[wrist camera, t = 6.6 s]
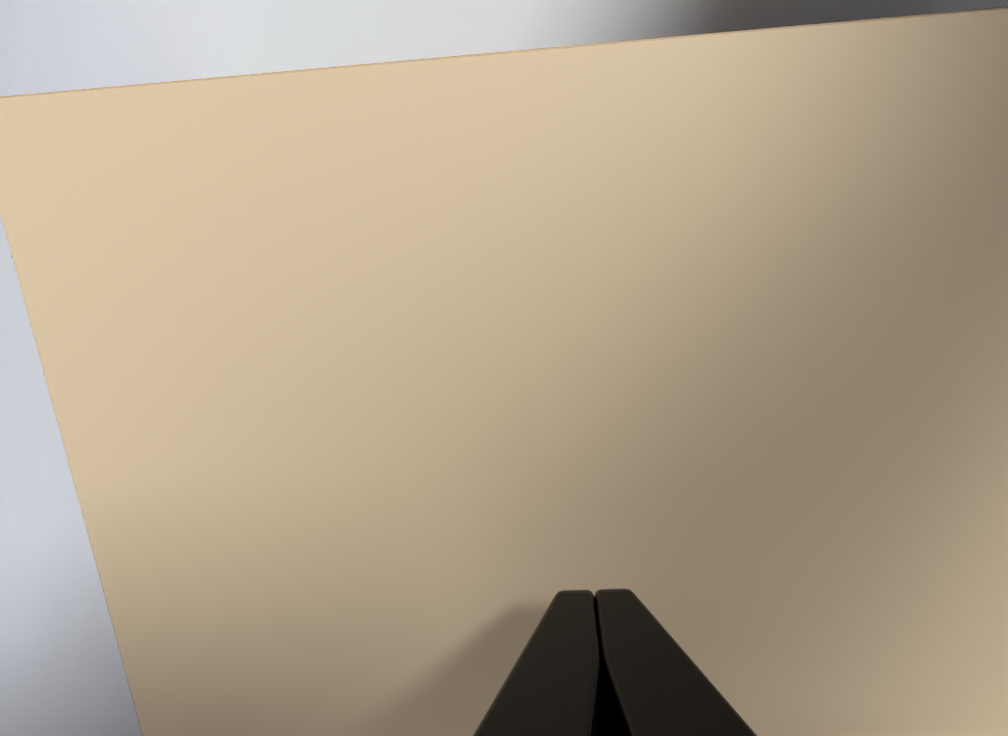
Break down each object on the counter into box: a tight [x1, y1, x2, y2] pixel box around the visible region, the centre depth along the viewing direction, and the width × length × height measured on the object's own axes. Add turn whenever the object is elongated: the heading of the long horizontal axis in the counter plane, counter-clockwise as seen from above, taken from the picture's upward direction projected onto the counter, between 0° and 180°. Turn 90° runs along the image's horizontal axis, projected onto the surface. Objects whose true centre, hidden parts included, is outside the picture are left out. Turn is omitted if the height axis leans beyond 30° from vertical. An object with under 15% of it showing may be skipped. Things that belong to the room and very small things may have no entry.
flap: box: [0, 9, 1008, 736], centre depth 9 cm, size 14×9×1 cm, turn 94°
